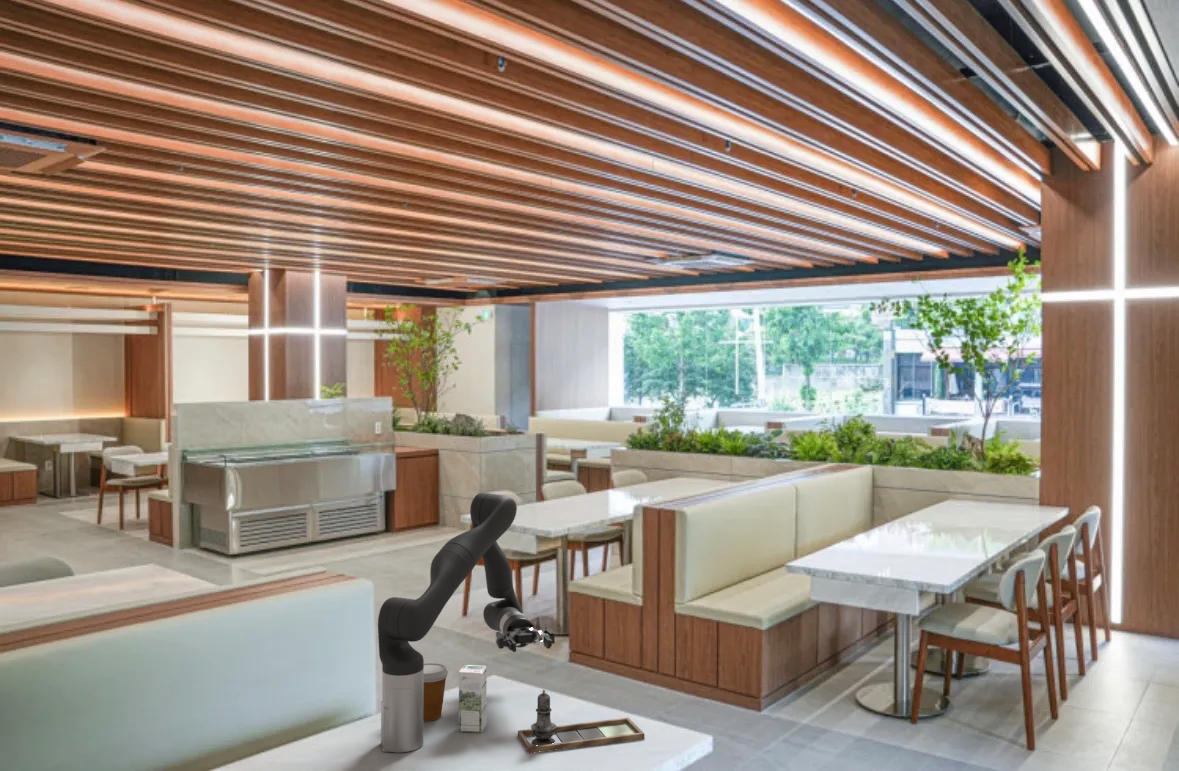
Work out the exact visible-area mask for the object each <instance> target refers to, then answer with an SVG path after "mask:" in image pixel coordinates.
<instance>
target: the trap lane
mask: <svg viewBox="0 0 1179 771" xmlns="http://www.w3.org/2000/svg"><path fill="white" fill-rule="evenodd" d="M554 734H555V735H556V734H557V735H556V736H557V737H558V739H559V738H560V739H559V740H560V742H557V743H556V742H555V743H554V744H546V745H538V746H536V745H532V744H531V743H530V741H529V740H528V739H527V737H531V736H530V735H532V736H534V734H533V732H532V729H531V728H529V729H522V730H518V731H517V738H518V739H519V740H520V742H521V743H522V744H523V745H522V746H524V748H525V749H527V750H526V752H527V753H528V754H535V753H534V752H537V753H540V752H539V751H545V752H549V751H548V750H553V751H556V750H555V749H561V750H564V749H563V748H568V749H573V748H574V747H576V748H583V747H584V748H585V747H591V746H599V745H605V744H614V743H615V744H616V743H621V742H629V741H630V740H631V741H637V739H639V740H645V732H644V731H642V730H641V729H640V728H639V727H638V725H637V724H635V723H634V721H632V719H630V718H629V717H623V718H622V717H620V718H613V719H612V718H611V719H604V720H596V721H589V722H588V721H587V722H581V723H580V722H579V723H573V724H572V723H570V724H562V725H556V729H555V733H554ZM631 741H630V742H631ZM574 749H575V748H574Z"/></svg>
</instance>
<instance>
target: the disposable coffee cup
mask: <svg viewBox="0 0 1179 771" xmlns="http://www.w3.org/2000/svg"><path fill="white" fill-rule="evenodd" d="M448 674H449V670H447V666H446V665H445V664H443V663H438V662H424V714H423V722H431V721H436V720H438V718H439V719H440V718H441V717H442V714H443V712H442V711H443V704H444V697H445V696H444V695H445V689H446V679H447V677H448Z"/></svg>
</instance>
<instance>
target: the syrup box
mask: <svg viewBox="0 0 1179 771" xmlns="http://www.w3.org/2000/svg"><path fill="white" fill-rule="evenodd" d="M487 672H488V671H487V665H481V664H480V665H479V664H478V665H476V664H463V666H462V667H461V668H460V669H459V671H458V733H459V732H460V733H476V734H477V733H478V734H480V733H481V734H482V732H483V731H484V730H483V729H485V728H486V726H487V721H488V719H487V689H488V688H487V687H488V686H487V682H488V681H487V680H488V679H487V678H488V674H487ZM484 727H485V728H484Z"/></svg>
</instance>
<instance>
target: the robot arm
mask: <svg viewBox="0 0 1179 771" xmlns="http://www.w3.org/2000/svg"><path fill="white" fill-rule="evenodd" d="M517 510H518V507H517V503H516V501H515V500H514V498H512V497H510V496H508V495H503V494H496V493H491V492H479V493H477V494H476V495H475V496H474V497H473V499H472V500H471V504H470V510H469V514H470V520H471V524H472V527H473V528H471V529H469V530H467V531H464V532H462V533H460V534H458V535H456V536H454V537H452V538H451V539H449V540H448V541H447V542H446V543H445V544H444V545H443V546H442V547H441V548H440V549H439V551H438V552H437V553H436V554H435V555H434V557H433V559H432V560H431V564H430V571H429V572H430V573H429V574H430V575H429V576H430V578H429V579H430V582H429V585H428V587H427V589H426V590H425V591H424V592H423V593H422V595H420V596H419V597H418V598H416V599H413V598H405V597H395V596H393V597H389V598H387V599H386V600H385V601H384V602H383V604H382V605H381V607H380V609H379V613H378V618H377V619H378V620H377V636H378V638H377V639H378V654H379V655H378V656H379V660H380V663H381V665H382V666H381V668H382V670H381V672H382V674H381V675H382V680H381V681H382V683H381V684H382V688H381V689H382V690H381V696H382V697H381V698H382V699H381V702H380V705H381V706H380V708H381V709H380V712H381V713H380V733H381V734H380V742H381V747H382V748H381V749H382V751H383V752H385V753H386V752H390V753H408V752H412V751H416V750H417V749H420V748H422V746H423V745H424V738H425V737H424V721H423V714H424V663H425V662H424V661H425V660H424V656H423V654H422V653H421V652H419V651H417V649H415V648H414V647H413V646H412V645H411V642H418V641H420V640H423V638H424V637H425V636H427V634H428V633H429V632H430V630H431V629H432V627H433V625H434V624H435V622H436V621H437V619H438V617H439V616H440V614H441V612H442V611H443V609H444V608H445V606H446V604H448V602H449V600H450V599H451V598H452V596H453V595H454V594H455V592H456V590H457V589H458V588H459V587H460V586H461V584H462V583H463V582H464V581H465V580H466V579H467V577H468V576H469V575H470V573H471V572H472V571H473V570H474V568H475V566H476V565H477V564H478V562H479V561H480V560H481V559H482V561H483V565H484V572H485V573H484V574H485V581H486V588H487V594H488V596H490V597H491V598H493V599H499V600H496V601H492V602H489V603H487V605H485V607H484V608H483V612H482V614H483V616H482V617H483V620H484V622H485V624H486V625H487V627H488V628H490V630H494V631H496V632H495V644H496V646H497V647H498V649H504V648H505V647H506V649H508V650H509V651H511V652H513V653H516V652H517V648H524V647H526V646H527V647H528V645H534V646H539V645H542V646H544V647H545V648H546V649H547V650H548V649H549V650H550V649H551V647H553V644H555V643H556V641H555V640H556V639H555V637H556V633H555V632H554V631H553V630H552V629H550V628H549V627H546V626H545V627H544V628H543V630H539V629H535V625H534V624H533V623H532V622H531V620H530V619H529V618H528V617H526V616H527V615H525V614H523V608H522V606H521V603H520V602H519V599H518V598H517V595H516V592H515V589H514V583H513V575H512V568H511V564H510V562H509V559H508V558H507V556H506V554H505V553H504V551H503V549H502V548H501V547H500V545H499V543H498V542H497V541H498V540H499V539H500V537H502V536H503V535H504V534H505V533H506V532H507V531H508V530H509V528H510V527H511V526H512V525H513V522H514V520H515V518H516V516H517ZM409 642H410V643H409Z"/></svg>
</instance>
